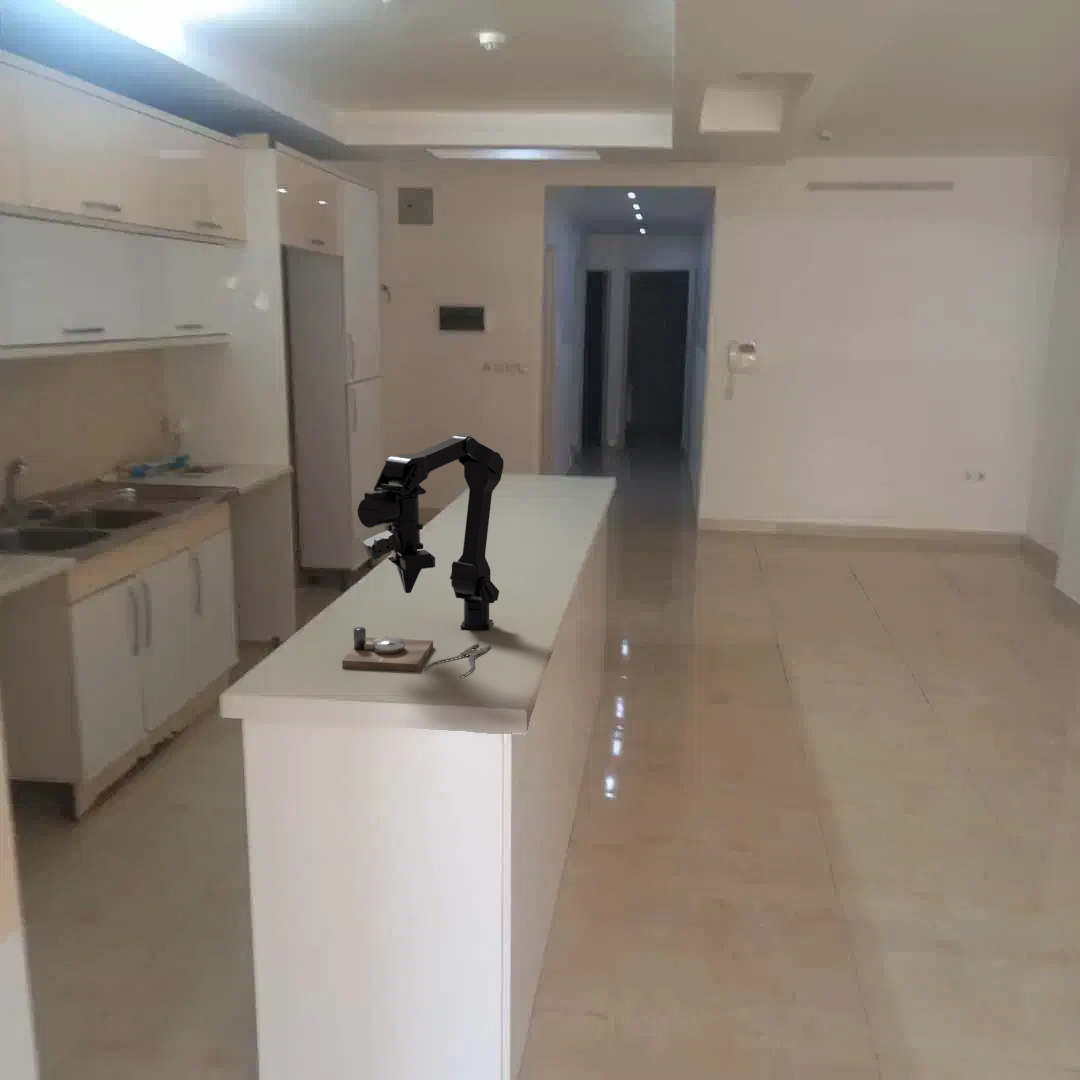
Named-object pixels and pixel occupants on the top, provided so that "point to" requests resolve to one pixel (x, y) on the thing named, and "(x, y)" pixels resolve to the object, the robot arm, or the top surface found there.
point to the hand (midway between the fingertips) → (407, 592)
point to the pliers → (469, 652)
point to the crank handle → (378, 642)
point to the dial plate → (390, 657)
